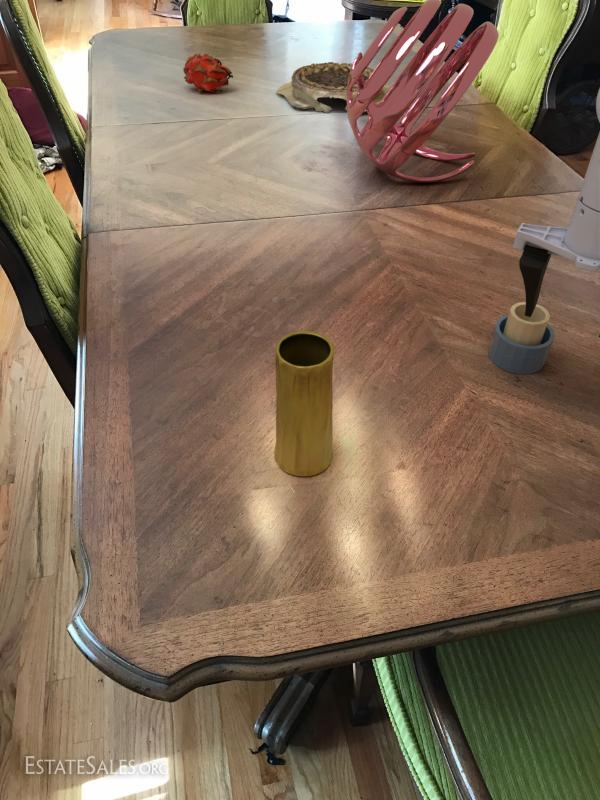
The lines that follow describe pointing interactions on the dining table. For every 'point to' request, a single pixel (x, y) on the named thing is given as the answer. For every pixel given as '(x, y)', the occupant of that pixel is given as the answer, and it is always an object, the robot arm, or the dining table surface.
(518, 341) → the cup
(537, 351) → the bowl
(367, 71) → the pie
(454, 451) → the dining table surface
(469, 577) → the dining table surface
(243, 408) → the dining table surface
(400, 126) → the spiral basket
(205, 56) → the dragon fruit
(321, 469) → the vase
